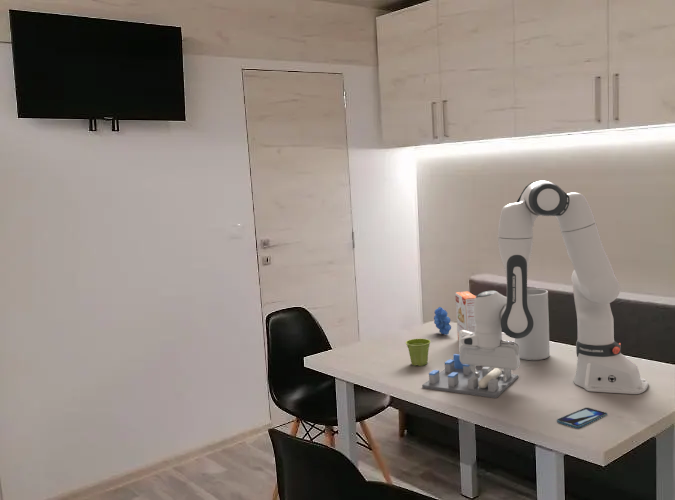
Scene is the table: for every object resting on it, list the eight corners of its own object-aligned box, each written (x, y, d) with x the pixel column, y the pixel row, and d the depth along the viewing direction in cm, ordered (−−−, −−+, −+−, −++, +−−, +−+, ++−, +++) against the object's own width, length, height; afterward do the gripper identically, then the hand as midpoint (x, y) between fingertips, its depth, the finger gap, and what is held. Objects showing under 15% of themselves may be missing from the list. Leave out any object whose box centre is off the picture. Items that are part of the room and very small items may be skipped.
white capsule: (494, 374, 233) (493, 366, 232) (502, 375, 231) (502, 367, 230) (477, 389, 219) (476, 380, 219) (485, 390, 218) (485, 381, 217)
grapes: (427, 333, 298) (426, 306, 297) (440, 330, 301) (439, 304, 299) (441, 338, 288) (440, 311, 286) (455, 335, 290) (453, 308, 289)
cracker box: (456, 340, 283) (454, 291, 281) (470, 338, 284) (468, 290, 281) (466, 348, 269) (464, 298, 267) (481, 347, 270) (479, 296, 267)
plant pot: (415, 369, 248) (413, 346, 247) (402, 363, 256) (401, 341, 255) (436, 364, 252) (435, 342, 251) (423, 358, 260) (422, 337, 259)
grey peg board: (518, 377, 231) (517, 360, 230) (496, 398, 213) (495, 380, 212) (448, 369, 245) (447, 353, 245) (422, 387, 227) (421, 370, 226)
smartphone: (608, 413, 194) (578, 426, 185) (608, 416, 194) (578, 430, 185) (586, 406, 200) (555, 419, 191) (586, 410, 200) (555, 422, 191)
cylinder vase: (547, 351, 259) (545, 287, 256) (551, 360, 247) (550, 294, 244) (514, 351, 261) (512, 289, 258) (517, 361, 249) (514, 295, 246)
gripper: (522, 339, 220) (523, 379, 222) (463, 334, 231) (465, 372, 233) (515, 344, 215) (517, 385, 217) (456, 339, 226) (458, 378, 228)
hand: (490, 379), depth 225 cm, fingers open, 8 cm apart
